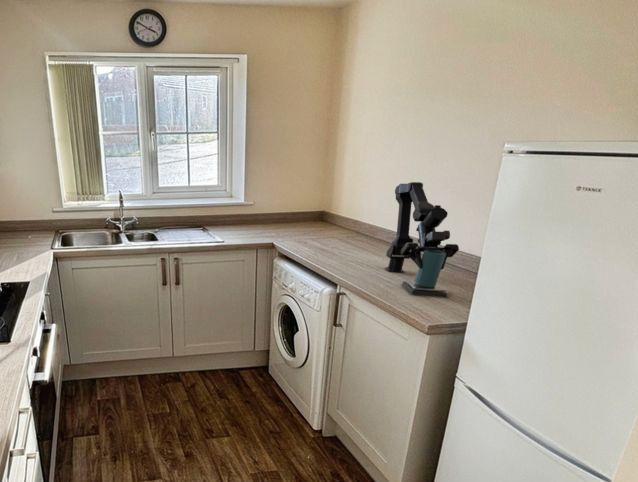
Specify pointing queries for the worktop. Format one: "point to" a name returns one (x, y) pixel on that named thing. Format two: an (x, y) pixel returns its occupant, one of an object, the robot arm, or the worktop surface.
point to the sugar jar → (430, 268)
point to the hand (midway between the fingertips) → (431, 268)
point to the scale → (423, 291)
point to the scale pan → (425, 287)
